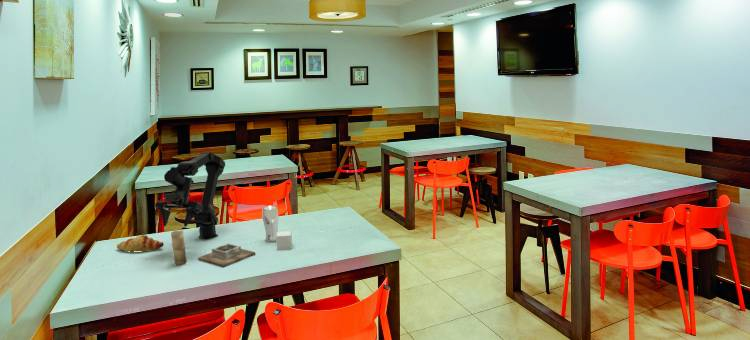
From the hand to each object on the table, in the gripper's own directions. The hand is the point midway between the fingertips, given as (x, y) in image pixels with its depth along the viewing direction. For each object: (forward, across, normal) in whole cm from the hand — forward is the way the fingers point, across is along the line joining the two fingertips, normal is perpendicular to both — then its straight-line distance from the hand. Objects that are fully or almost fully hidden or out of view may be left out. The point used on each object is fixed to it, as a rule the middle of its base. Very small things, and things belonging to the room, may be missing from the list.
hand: (174, 226), depth 193 cm
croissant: (+8, -22, +13) cm, 27 cm away
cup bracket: (+11, +21, +7) cm, 25 cm away
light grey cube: (+4, +41, +19) cm, 46 cm away
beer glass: (-1, +32, +27) cm, 42 cm away
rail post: (+15, +6, +1) cm, 16 cm away
